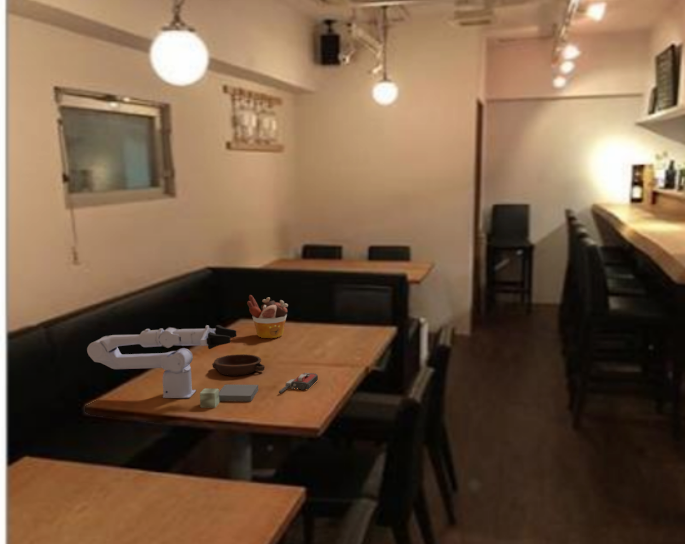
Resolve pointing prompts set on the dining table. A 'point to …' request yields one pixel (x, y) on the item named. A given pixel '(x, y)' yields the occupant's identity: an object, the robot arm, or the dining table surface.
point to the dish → (238, 364)
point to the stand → (238, 392)
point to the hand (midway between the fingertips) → (233, 336)
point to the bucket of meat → (268, 317)
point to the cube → (209, 398)
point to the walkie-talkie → (301, 382)
